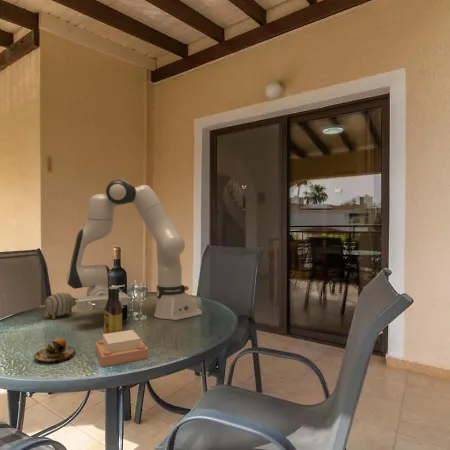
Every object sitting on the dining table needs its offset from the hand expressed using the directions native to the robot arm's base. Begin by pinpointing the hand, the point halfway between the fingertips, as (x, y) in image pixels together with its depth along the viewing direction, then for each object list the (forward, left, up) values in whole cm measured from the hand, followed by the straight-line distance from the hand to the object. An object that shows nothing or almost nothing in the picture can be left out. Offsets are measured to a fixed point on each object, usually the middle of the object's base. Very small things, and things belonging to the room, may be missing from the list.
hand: (106, 305), depth 130 cm
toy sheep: (+16, -32, -11) cm, 37 cm away
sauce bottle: (0, +12, -11) cm, 16 cm away
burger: (+19, +18, -11) cm, 28 cm away
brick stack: (0, +26, -10) cm, 28 cm away
